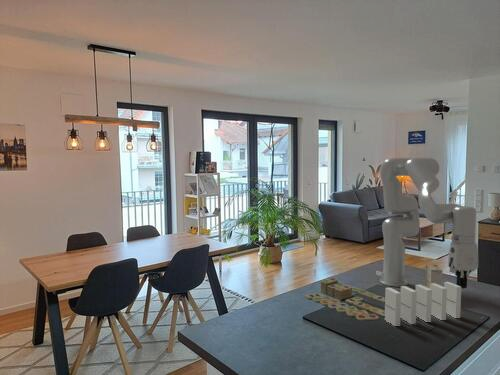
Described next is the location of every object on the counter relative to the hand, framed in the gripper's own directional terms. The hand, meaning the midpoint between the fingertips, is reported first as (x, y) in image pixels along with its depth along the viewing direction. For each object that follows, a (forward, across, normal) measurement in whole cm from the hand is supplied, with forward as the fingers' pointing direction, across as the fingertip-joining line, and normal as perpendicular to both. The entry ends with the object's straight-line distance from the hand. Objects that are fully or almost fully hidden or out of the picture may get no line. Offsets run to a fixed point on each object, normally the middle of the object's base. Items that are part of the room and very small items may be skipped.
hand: (461, 287), depth 140 cm
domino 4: (+11, -11, 0) cm, 15 cm away
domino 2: (+11, -24, 0) cm, 26 cm away
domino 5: (+11, -4, 0) cm, 11 cm away
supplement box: (+11, +4, +19) cm, 22 cm away
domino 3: (+11, -17, 0) cm, 20 cm away
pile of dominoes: (+11, -32, +22) cm, 40 cm away
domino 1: (+11, -30, 0) cm, 32 cm away
